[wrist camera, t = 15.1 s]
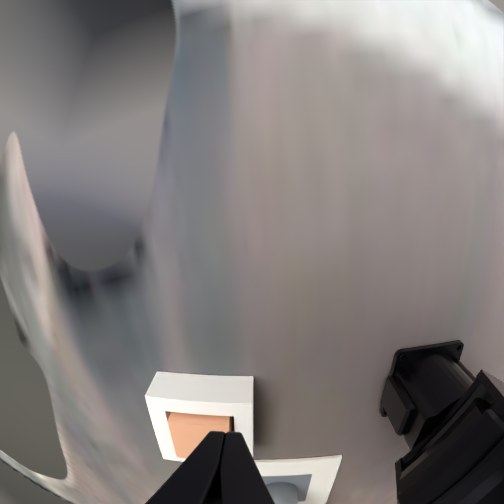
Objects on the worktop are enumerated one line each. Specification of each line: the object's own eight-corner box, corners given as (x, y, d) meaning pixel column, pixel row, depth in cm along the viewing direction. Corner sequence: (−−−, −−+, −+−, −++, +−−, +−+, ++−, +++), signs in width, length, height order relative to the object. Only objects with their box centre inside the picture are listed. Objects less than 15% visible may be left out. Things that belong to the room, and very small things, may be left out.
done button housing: (253, 376, 20) (252, 403, 17) (253, 439, 22) (253, 466, 19) (157, 371, 20) (144, 395, 17) (171, 434, 22) (163, 458, 19)
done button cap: (232, 398, 20) (228, 426, 17) (234, 434, 21) (231, 461, 18) (177, 394, 20) (167, 421, 17) (184, 430, 21) (176, 457, 18)
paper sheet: (341, 454, 22) (342, 457, 22) (323, 505, 25) (323, 508, 24) (198, 456, 22) (197, 459, 22) (210, 507, 25) (209, 509, 25)
